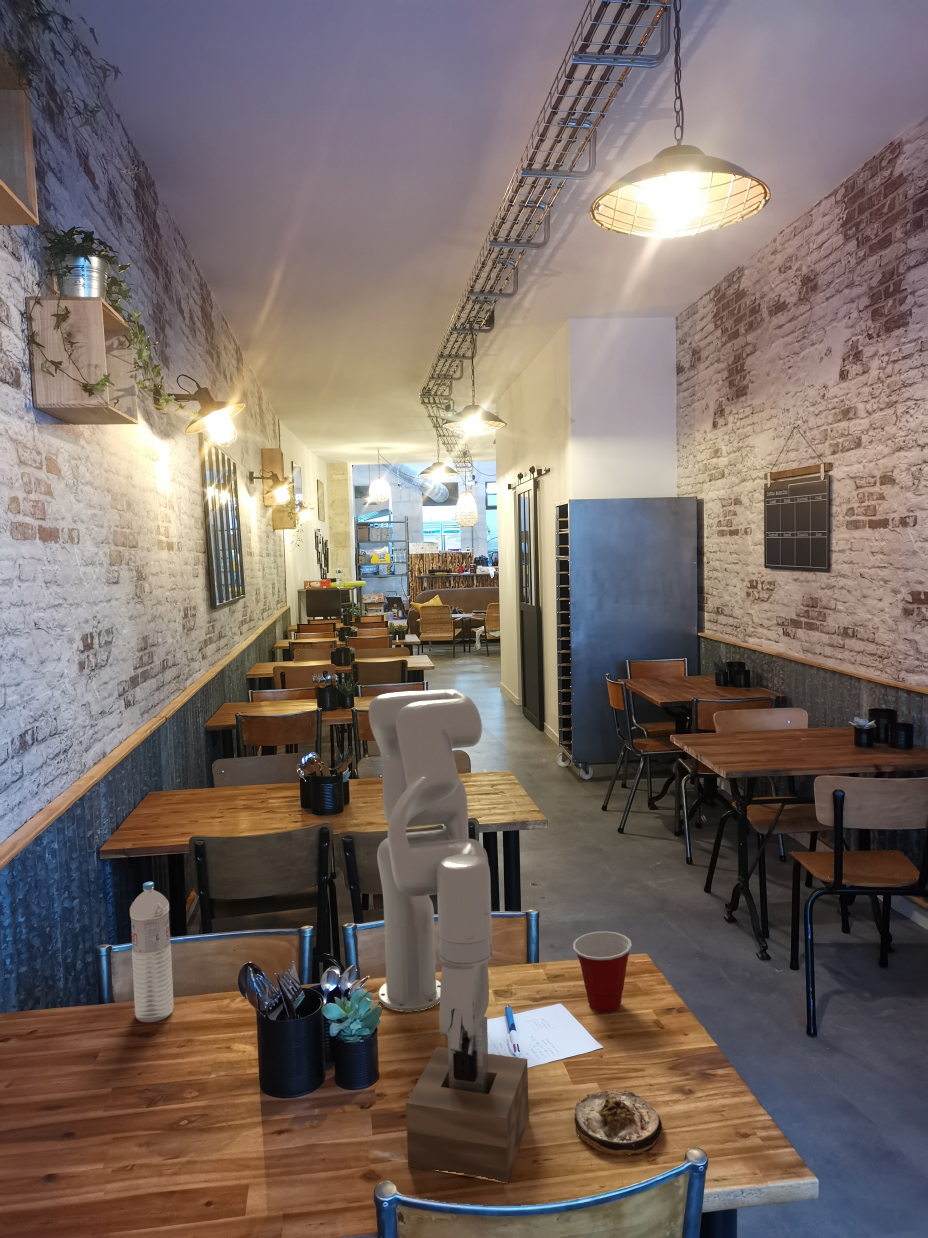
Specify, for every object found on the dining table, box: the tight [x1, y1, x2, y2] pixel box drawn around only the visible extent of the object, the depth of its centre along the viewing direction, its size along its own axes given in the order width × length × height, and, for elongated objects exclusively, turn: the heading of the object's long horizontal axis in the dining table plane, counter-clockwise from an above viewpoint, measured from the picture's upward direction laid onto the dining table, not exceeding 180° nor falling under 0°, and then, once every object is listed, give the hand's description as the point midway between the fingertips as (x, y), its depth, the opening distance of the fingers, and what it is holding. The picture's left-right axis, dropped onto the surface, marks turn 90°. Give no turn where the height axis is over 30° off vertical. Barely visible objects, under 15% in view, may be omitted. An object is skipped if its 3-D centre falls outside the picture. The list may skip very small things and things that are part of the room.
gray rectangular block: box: [447, 1016, 489, 1094], centre depth 119 cm, size 3×5×10 cm, turn 74°
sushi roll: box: [574, 1089, 663, 1157], centre depth 122 cm, size 15×15×4 cm
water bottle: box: [129, 881, 174, 1023], centre depth 157 cm, size 7×7×25 cm
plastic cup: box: [572, 931, 632, 1014], centre depth 156 cm, size 11×11×12 cm
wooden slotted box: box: [405, 1046, 530, 1183], centre depth 120 cm, size 14×14×9 cm
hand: (468, 1070), depth 119 cm, fingers closed on gray rectangular block, 3 cm apart
